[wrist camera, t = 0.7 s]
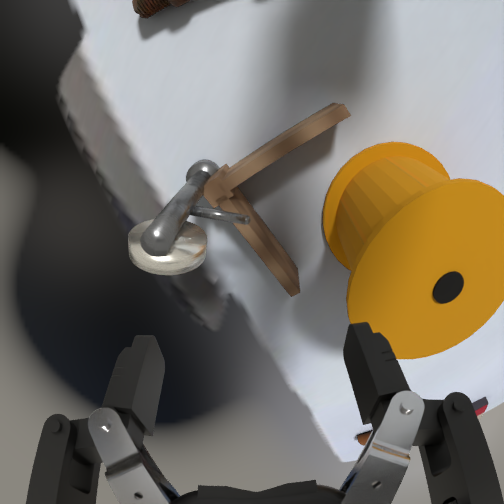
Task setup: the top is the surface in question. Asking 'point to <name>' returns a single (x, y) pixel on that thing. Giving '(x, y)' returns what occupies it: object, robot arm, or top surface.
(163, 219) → the metal faucet
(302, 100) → the top surface
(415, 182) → the spool
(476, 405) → the dark grey box
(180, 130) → the top surface
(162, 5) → the bolt
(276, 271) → the wooden v-shaped bracket
